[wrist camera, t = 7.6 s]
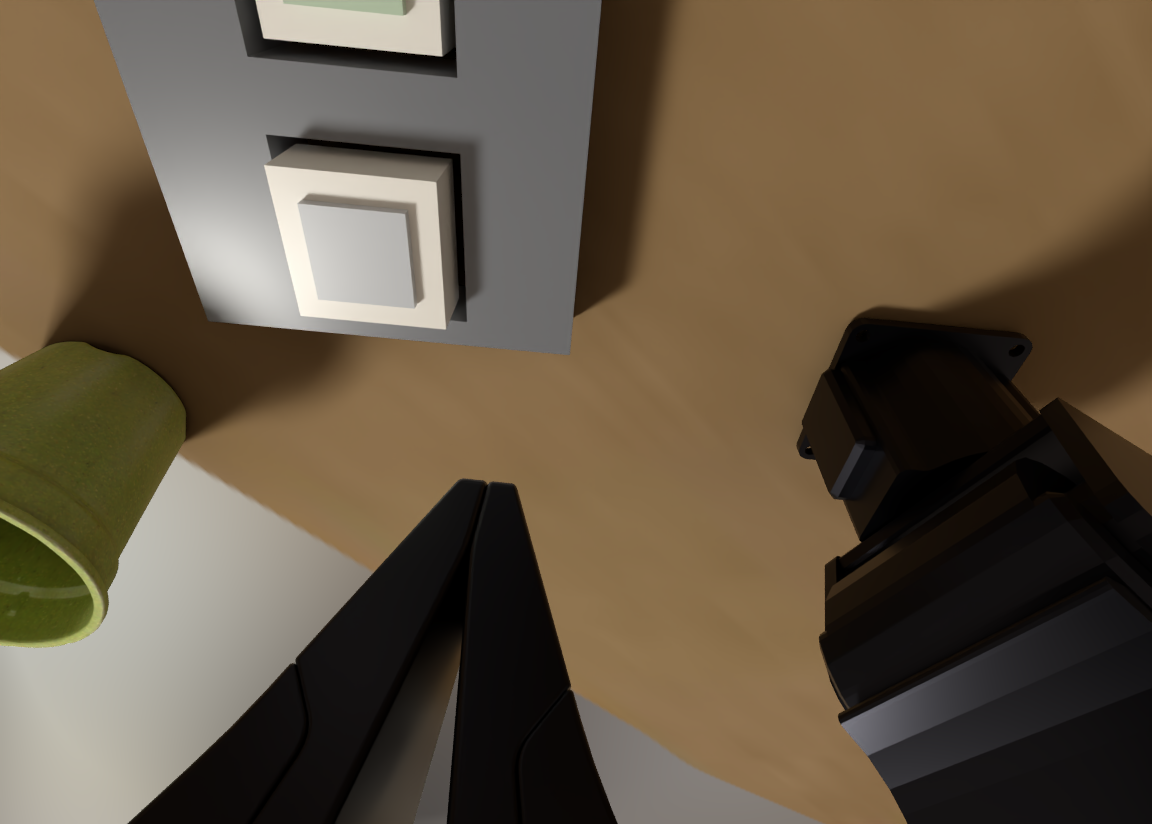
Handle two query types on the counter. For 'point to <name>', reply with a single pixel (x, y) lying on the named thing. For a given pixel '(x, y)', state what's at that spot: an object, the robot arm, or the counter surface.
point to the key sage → (363, 23)
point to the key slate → (368, 234)
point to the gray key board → (374, 117)
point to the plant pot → (75, 483)
